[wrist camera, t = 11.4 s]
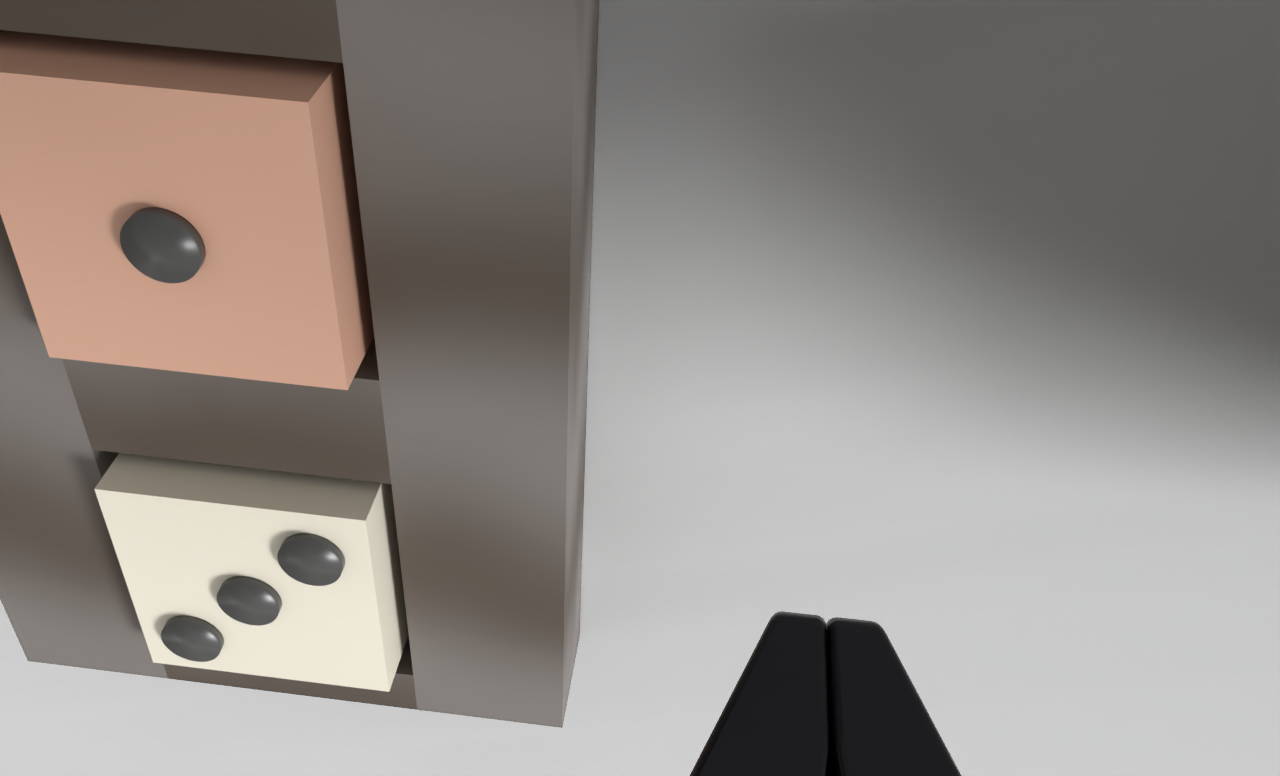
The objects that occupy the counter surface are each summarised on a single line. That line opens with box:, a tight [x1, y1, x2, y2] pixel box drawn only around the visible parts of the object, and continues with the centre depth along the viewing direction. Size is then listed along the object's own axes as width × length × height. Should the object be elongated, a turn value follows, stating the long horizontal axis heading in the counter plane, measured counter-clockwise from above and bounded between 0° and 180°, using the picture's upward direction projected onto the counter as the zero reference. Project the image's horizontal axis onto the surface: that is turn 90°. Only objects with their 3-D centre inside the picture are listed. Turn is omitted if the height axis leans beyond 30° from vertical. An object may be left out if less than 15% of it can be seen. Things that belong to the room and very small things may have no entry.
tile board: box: [0, 0, 599, 728], centre depth 19 cm, size 24×12×2 cm, turn 177°
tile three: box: [94, 453, 409, 692], centre depth 23 cm, size 5×5×3 cm
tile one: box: [0, 30, 374, 390], centre depth 18 cm, size 5×5×3 cm
